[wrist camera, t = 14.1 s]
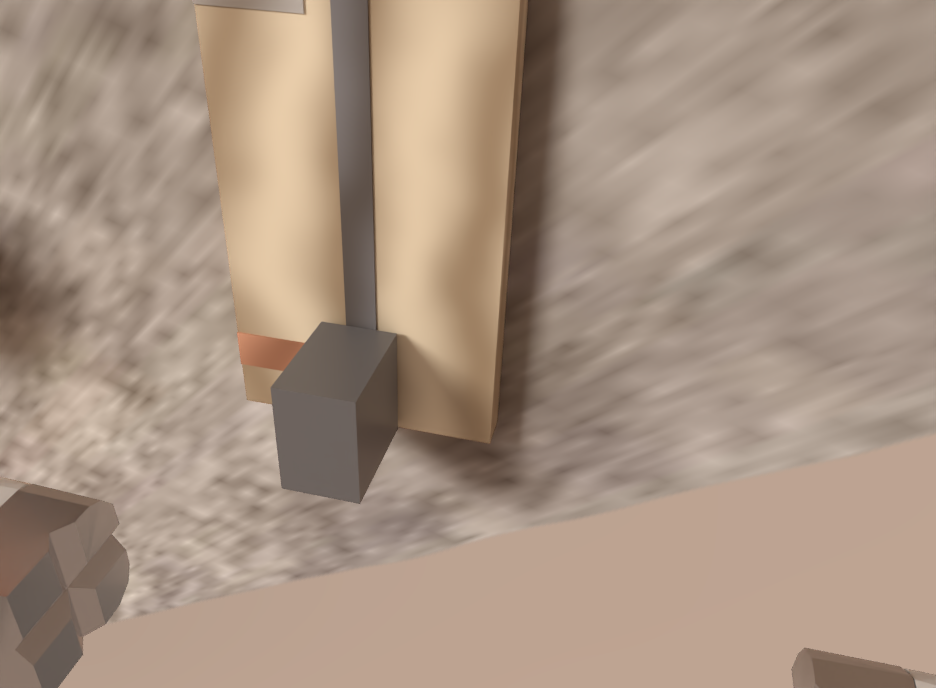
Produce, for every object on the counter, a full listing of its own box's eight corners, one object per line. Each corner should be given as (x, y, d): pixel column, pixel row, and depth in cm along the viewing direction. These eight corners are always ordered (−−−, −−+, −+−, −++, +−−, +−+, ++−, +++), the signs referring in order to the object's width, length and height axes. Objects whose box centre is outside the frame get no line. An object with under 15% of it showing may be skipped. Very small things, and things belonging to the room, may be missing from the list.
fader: (396, 333, 40) (355, 402, 36) (397, 428, 44) (360, 503, 39) (321, 321, 41) (270, 387, 36) (327, 415, 44) (281, 488, 39)
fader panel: (534, -89, 32) (525, -85, 30) (497, 421, 45) (489, 444, 43) (204, -110, 34) (178, -107, 32) (262, 380, 47) (246, 400, 46)
